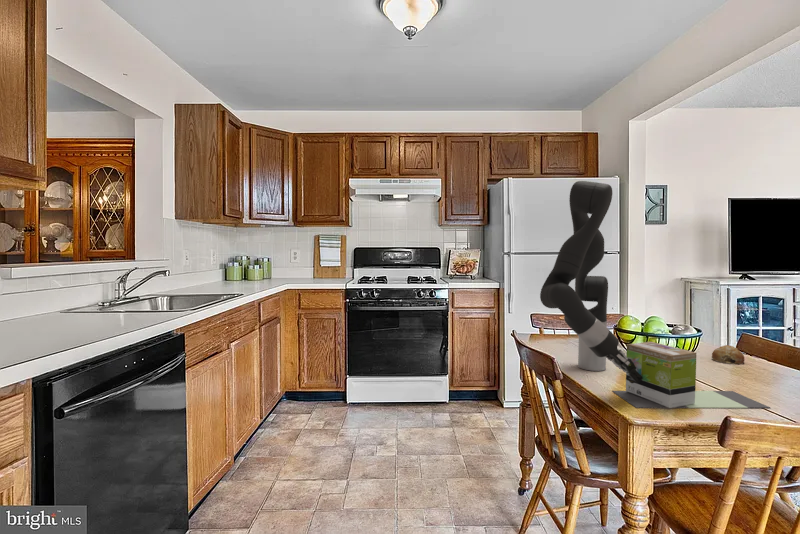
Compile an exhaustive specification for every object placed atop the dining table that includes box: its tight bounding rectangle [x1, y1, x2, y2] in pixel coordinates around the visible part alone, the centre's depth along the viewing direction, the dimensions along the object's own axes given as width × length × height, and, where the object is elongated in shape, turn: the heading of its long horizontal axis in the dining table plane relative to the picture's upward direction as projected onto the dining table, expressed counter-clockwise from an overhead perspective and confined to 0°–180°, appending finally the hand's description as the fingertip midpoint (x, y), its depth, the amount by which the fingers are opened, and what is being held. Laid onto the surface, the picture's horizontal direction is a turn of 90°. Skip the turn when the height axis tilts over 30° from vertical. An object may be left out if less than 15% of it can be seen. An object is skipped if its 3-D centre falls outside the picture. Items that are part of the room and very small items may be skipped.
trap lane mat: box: [612, 390, 771, 410], centre depth 129 cm, size 14×36×1 cm, turn 90°
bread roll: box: [711, 344, 745, 365], centre depth 173 cm, size 10×10×8 cm
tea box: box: [625, 341, 697, 409], centre depth 129 cm, size 15×10×15 cm
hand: (639, 379), depth 129 cm, fingers closed
